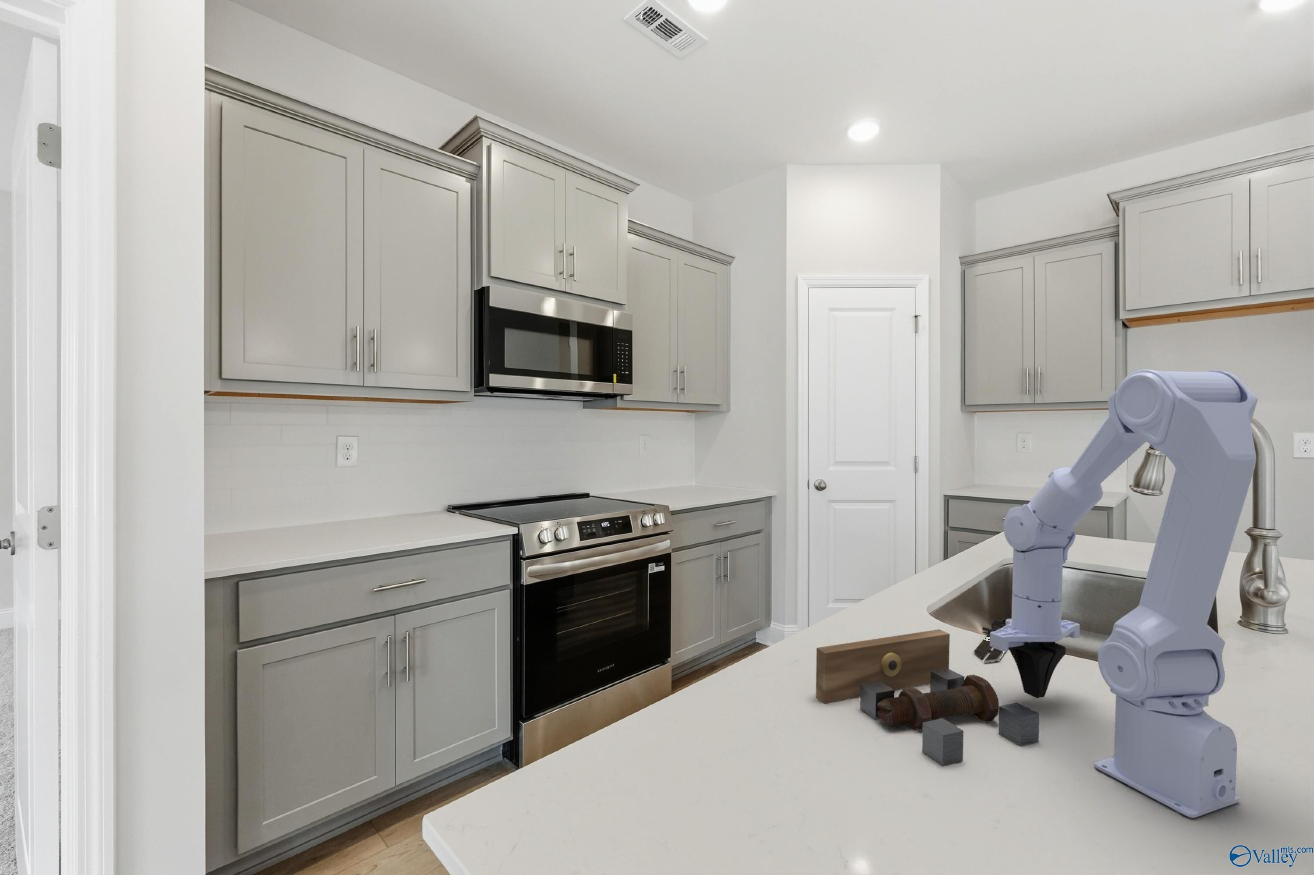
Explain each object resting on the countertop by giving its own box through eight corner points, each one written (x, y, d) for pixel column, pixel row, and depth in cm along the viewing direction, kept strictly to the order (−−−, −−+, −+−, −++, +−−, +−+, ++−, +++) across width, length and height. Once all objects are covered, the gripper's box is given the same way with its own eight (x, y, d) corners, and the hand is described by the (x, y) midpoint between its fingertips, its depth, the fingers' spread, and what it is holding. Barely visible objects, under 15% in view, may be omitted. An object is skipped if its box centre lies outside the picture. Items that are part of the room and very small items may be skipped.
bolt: (879, 739, 77) (980, 722, 81) (900, 737, 73) (1006, 720, 76) (866, 690, 80) (964, 676, 83) (885, 686, 76) (988, 671, 79)
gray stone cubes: (1038, 741, 73) (1039, 713, 73) (942, 765, 68) (943, 735, 68) (946, 692, 86) (947, 668, 86) (860, 709, 81) (860, 683, 81)
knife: (994, 670, 95) (994, 661, 95) (951, 658, 100) (951, 649, 100) (1037, 630, 113) (1037, 623, 113) (998, 622, 118) (999, 614, 118)
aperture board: (952, 681, 90) (953, 635, 89) (827, 705, 82) (828, 654, 82) (938, 674, 92) (939, 629, 92) (815, 697, 85) (816, 647, 84)
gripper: (1046, 583, 88) (1044, 675, 89) (971, 593, 83) (969, 690, 84) (1096, 596, 82) (1093, 695, 82) (1018, 608, 77) (1015, 713, 77)
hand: (1034, 694), depth 83 cm, fingers closed
